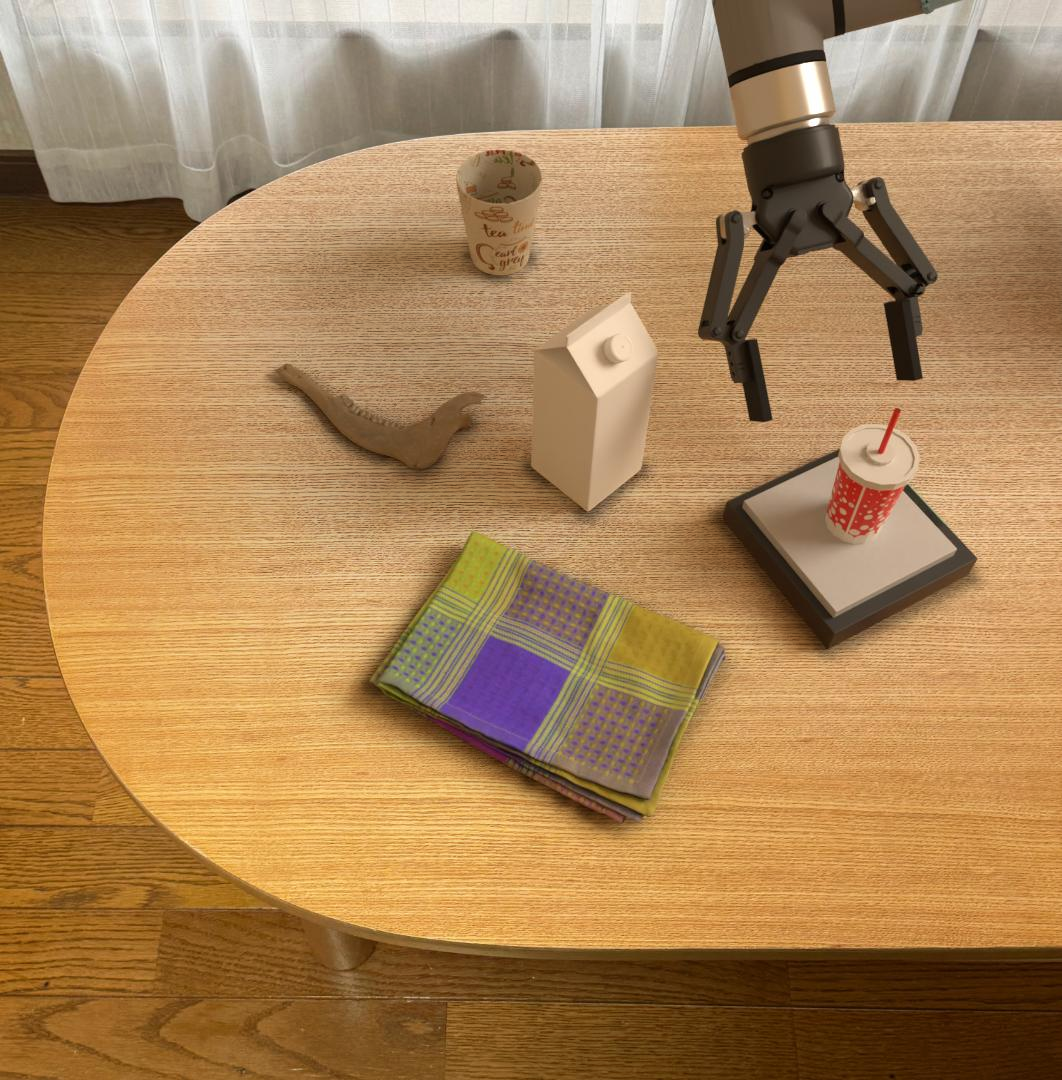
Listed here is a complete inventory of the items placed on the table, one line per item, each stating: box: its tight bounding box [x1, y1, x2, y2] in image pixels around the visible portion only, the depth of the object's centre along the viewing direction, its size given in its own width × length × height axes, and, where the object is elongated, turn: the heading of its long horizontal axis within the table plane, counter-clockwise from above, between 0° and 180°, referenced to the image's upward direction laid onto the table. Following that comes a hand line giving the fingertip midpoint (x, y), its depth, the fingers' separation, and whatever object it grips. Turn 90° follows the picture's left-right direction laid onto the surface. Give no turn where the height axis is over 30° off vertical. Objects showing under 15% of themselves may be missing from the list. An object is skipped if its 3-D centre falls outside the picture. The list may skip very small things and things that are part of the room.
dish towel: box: [368, 529, 727, 825], centre depth 92 cm, size 18×24×3 cm
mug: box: [455, 149, 543, 276], centre depth 118 cm, size 8×13×10 cm, turn 166°
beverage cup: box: [825, 407, 921, 544], centre depth 92 cm, size 6×6×14 cm
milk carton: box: [530, 291, 659, 512], centre depth 98 cm, size 7×7×19 cm
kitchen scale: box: [721, 448, 979, 650], centre depth 99 cm, size 15×15×4 cm
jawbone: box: [274, 363, 488, 470], centre depth 107 cm, size 9×20×2 cm, turn 78°
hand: (836, 400), depth 95 cm, fingers open, 13 cm apart
